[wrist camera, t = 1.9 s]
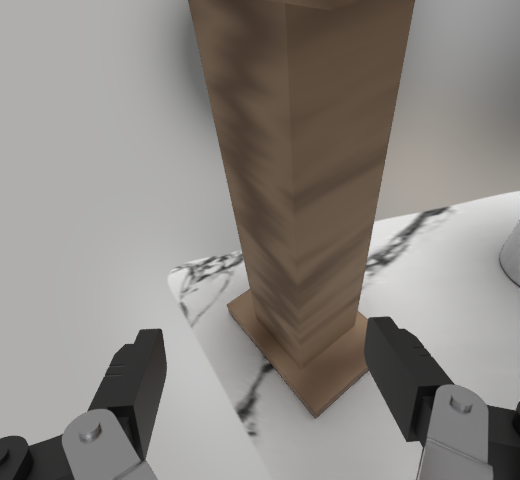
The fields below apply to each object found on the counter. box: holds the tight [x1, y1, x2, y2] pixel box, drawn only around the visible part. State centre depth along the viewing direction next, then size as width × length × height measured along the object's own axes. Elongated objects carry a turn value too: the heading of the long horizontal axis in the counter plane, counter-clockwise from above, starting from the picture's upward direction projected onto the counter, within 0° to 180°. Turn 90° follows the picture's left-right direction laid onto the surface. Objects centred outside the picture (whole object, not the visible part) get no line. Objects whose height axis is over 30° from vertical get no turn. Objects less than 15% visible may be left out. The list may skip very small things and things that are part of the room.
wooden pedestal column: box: [188, 0, 415, 418], centre depth 24 cm, size 14×10×32 cm
